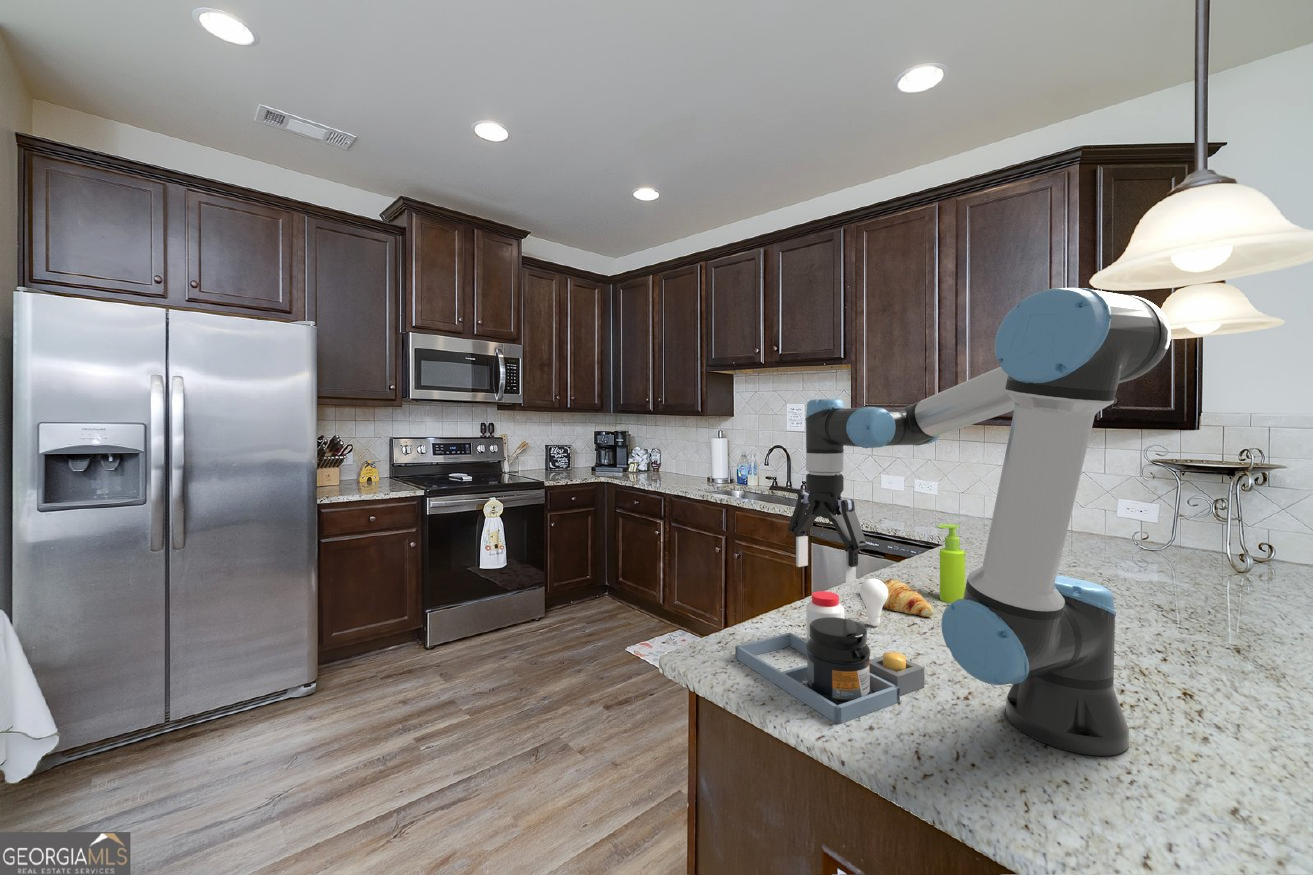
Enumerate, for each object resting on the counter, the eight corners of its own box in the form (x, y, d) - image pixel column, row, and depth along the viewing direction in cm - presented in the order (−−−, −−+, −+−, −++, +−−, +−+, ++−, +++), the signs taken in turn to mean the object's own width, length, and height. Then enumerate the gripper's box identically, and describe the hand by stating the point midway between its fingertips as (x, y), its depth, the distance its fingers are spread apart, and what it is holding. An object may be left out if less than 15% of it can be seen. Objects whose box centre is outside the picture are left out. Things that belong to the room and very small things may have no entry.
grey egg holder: (924, 687, 97) (924, 667, 97) (897, 696, 94) (897, 676, 94) (891, 671, 103) (891, 653, 103) (865, 679, 100) (865, 661, 100)
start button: (910, 676, 98) (910, 658, 98) (896, 681, 96) (896, 662, 96) (892, 668, 101) (892, 650, 101) (878, 673, 99) (878, 654, 99)
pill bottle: (847, 655, 110) (847, 602, 110) (807, 653, 112) (807, 600, 112) (842, 640, 118) (841, 590, 118) (805, 638, 120) (805, 588, 119)
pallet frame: (899, 702, 92) (899, 687, 92) (837, 724, 86) (837, 708, 85) (790, 644, 116) (790, 632, 116) (735, 658, 110) (735, 646, 110)
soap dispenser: (931, 597, 146) (931, 522, 145) (955, 596, 146) (955, 522, 146) (945, 604, 140) (945, 527, 139) (970, 603, 141) (970, 526, 140)
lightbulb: (875, 620, 130) (875, 574, 129) (894, 629, 124) (894, 581, 124) (854, 623, 128) (854, 576, 127) (872, 632, 122) (872, 584, 122)
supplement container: (880, 710, 90) (880, 638, 89) (815, 710, 90) (815, 638, 89) (857, 680, 100) (857, 615, 100) (800, 680, 100) (799, 616, 100)
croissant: (940, 632, 131) (951, 600, 133) (916, 619, 127) (927, 587, 128) (870, 604, 150) (880, 577, 151) (847, 592, 146) (857, 564, 147)
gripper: (886, 477, 105) (886, 586, 105) (797, 467, 127) (797, 557, 127) (858, 479, 101) (858, 592, 102) (771, 469, 123) (772, 562, 124)
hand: (824, 573), depth 115 cm, fingers open, 13 cm apart
